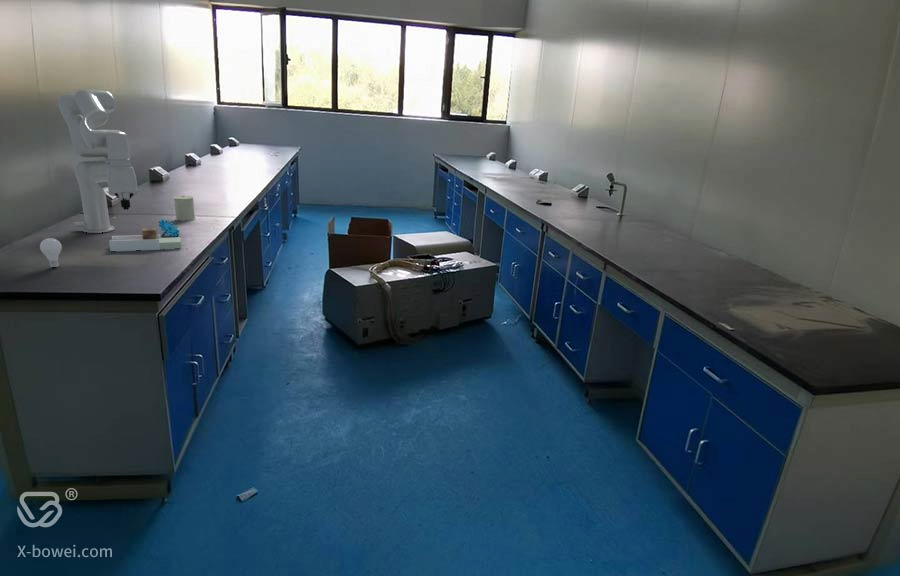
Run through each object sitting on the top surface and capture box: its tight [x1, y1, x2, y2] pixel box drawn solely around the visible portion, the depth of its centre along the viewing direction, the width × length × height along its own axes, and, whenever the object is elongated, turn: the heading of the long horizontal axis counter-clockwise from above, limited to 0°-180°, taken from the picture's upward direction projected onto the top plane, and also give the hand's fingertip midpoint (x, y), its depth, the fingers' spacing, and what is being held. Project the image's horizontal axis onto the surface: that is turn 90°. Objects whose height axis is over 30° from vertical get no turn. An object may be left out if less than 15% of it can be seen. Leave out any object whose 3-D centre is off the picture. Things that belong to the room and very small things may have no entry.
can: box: [173, 195, 196, 222], centre depth 281 cm, size 9×9×12 cm
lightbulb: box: [39, 237, 63, 268], centre depth 195 cm, size 6×6×11 cm
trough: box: [108, 234, 183, 252], centre depth 228 cm, size 26×9×4 cm, turn 113°
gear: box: [158, 219, 180, 238], centre depth 248 cm, size 11×6×10 cm
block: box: [141, 227, 158, 239], centre depth 227 cm, size 5×5×5 cm
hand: (126, 209), depth 221 cm, fingers closed
